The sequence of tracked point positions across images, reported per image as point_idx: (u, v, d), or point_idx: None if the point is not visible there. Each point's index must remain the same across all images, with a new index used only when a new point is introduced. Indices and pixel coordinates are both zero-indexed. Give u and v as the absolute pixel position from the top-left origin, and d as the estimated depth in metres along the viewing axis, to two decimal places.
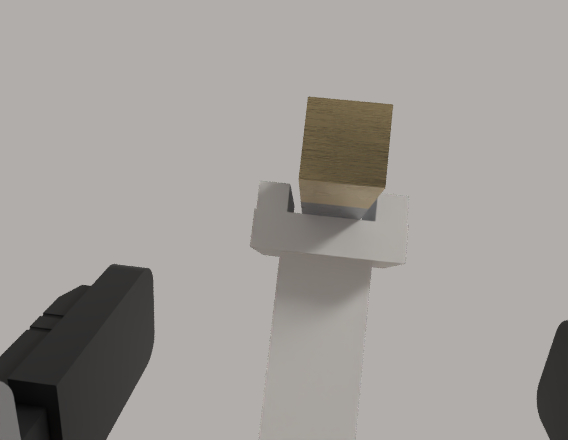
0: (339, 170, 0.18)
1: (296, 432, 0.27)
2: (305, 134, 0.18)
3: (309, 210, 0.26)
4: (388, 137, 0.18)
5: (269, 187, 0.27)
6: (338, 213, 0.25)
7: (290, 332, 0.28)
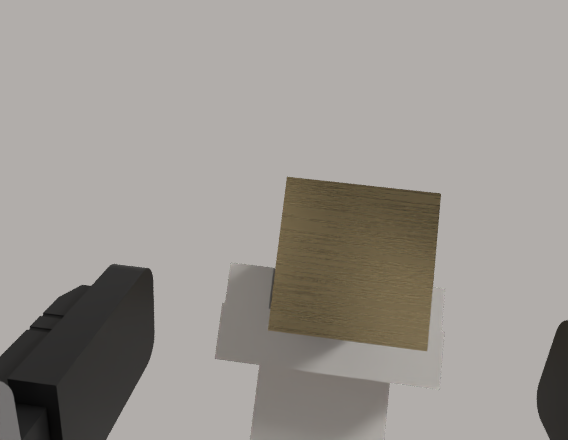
0: (342, 315, 0.10)
1: None
2: (281, 247, 0.10)
3: None
4: (432, 254, 0.10)
5: (244, 272, 0.19)
6: None
7: None
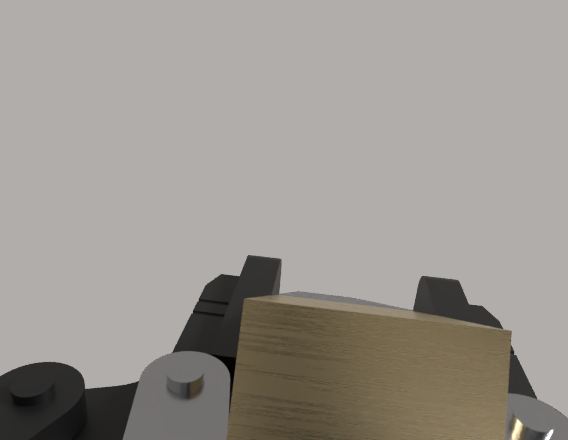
0: None
1: None
2: (233, 426, 0.06)
3: None
4: None
5: None
6: None
7: None
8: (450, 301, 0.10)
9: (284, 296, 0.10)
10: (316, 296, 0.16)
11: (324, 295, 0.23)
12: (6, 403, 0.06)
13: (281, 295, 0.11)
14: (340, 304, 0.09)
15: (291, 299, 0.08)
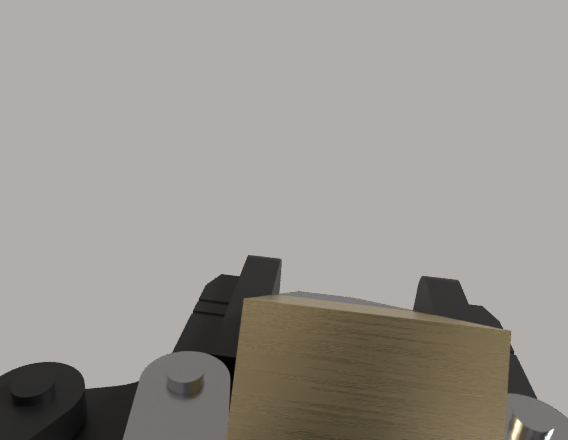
0: None
1: None
2: (232, 426, 0.06)
3: None
4: None
5: None
6: None
7: None
8: (450, 301, 0.10)
9: (284, 296, 0.10)
10: (316, 296, 0.16)
11: (324, 295, 0.23)
12: (6, 403, 0.06)
13: (281, 295, 0.11)
14: (340, 304, 0.09)
15: (291, 299, 0.08)
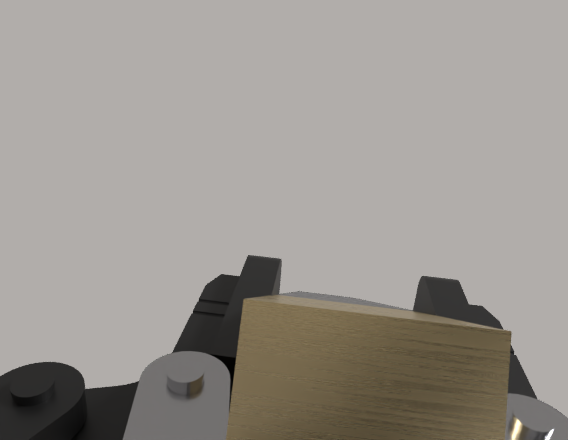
0: None
1: None
2: (232, 426, 0.06)
3: None
4: None
5: None
6: None
7: None
8: (450, 301, 0.10)
9: (284, 296, 0.10)
10: (316, 296, 0.16)
11: (324, 295, 0.23)
12: (6, 403, 0.06)
13: (281, 295, 0.11)
14: (340, 304, 0.09)
15: (291, 299, 0.08)
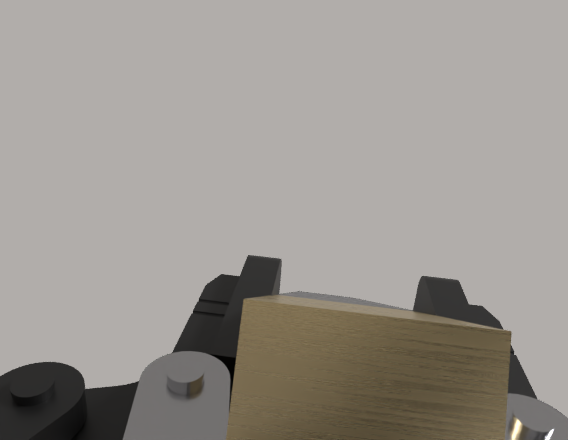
0: None
1: None
2: (232, 427, 0.06)
3: None
4: None
5: None
6: None
7: None
8: (450, 301, 0.10)
9: (284, 296, 0.10)
10: (316, 296, 0.16)
11: (324, 295, 0.23)
12: (6, 403, 0.06)
13: (281, 295, 0.11)
14: (340, 304, 0.09)
15: (291, 299, 0.08)
